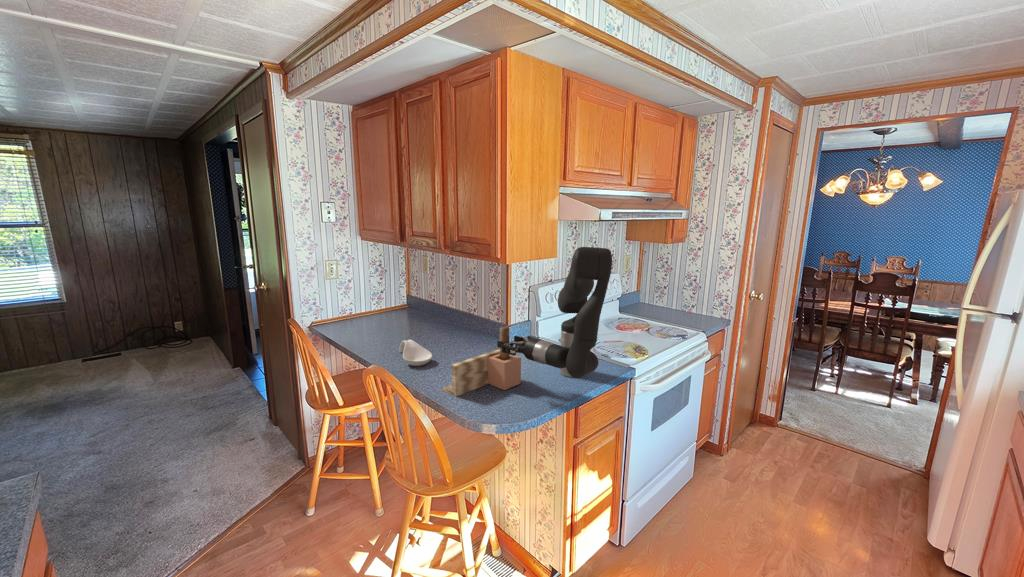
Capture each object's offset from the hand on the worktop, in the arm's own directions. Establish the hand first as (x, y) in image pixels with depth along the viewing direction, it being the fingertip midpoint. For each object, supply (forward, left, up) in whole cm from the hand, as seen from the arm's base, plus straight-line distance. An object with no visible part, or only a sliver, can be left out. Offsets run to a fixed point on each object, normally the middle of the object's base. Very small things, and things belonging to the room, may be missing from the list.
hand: (506, 341), depth 154 cm
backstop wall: (+7, -9, -17) cm, 20 cm away
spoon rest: (+8, -48, -17) cm, 51 cm away
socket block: (0, -1, -17) cm, 17 cm away
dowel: (0, -1, -9) cm, 9 cm away
